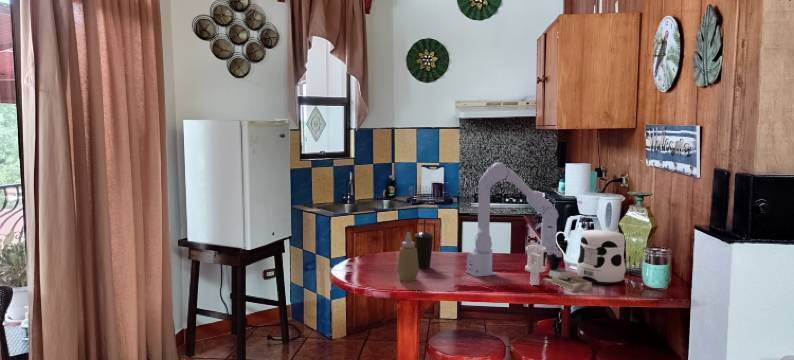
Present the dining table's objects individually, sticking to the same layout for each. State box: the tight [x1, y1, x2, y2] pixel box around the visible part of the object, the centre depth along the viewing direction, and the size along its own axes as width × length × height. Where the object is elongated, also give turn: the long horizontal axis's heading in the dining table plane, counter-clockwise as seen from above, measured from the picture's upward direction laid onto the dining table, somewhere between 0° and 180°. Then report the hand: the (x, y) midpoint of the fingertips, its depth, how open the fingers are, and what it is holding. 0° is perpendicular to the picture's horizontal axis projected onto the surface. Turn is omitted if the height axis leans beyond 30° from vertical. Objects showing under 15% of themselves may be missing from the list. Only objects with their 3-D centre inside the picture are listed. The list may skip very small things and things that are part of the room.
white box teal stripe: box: [548, 268, 573, 281], centre depth 209 cm, size 5×7×4 cm
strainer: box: [524, 244, 546, 286], centre depth 205 cm, size 7×7×15 cm
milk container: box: [576, 229, 626, 285], centre depth 210 cm, size 17×17×18 cm
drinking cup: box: [414, 218, 435, 270], centre depth 227 cm, size 8×8×20 cm
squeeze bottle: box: [397, 232, 420, 282], centre depth 209 cm, size 8×8×18 cm
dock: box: [542, 274, 593, 292], centre depth 206 cm, size 9×17×3 cm, turn 22°
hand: (547, 271), depth 216 cm, fingers open, 7 cm apart
